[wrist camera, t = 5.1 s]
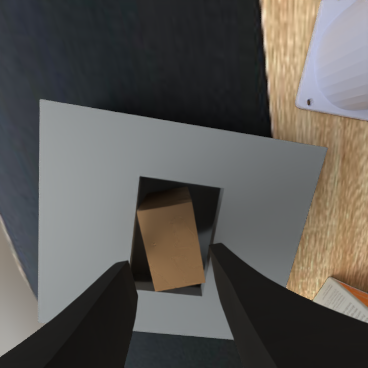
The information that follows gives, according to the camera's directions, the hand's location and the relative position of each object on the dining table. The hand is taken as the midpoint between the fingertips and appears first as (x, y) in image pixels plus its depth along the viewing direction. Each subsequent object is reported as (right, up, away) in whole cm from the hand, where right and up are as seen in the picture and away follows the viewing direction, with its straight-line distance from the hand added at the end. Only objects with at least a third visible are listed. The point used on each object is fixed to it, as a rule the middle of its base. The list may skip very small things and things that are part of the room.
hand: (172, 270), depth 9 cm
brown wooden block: (0, +1, +6) cm, 6 cm away
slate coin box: (0, +2, +8) cm, 8 cm away
